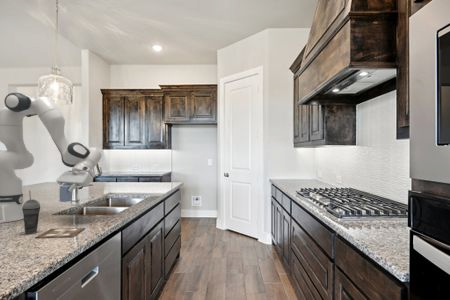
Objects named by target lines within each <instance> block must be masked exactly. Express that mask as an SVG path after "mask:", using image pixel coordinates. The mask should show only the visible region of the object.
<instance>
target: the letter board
mask: <svg viewBox="0 0 450 300" xmlns="http://www.w3.org/2000/svg"><path fill="white" fill-rule="evenodd" d="M84 230H86V227H68V228H64V227H63V228H60V227H59V228H50V229H47V230H45V231H44V232H42V233H40V234H38V235H36V236H35V237H34V238H35V239H57V238H58V239H60V238H61V239H62V238H75V237H76V236H78V235H79V234H80V233H82V232H83V231H84Z"/></svg>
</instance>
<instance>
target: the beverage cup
mask: <svg viewBox="0 0 450 300" xmlns="http://www.w3.org/2000/svg"><path fill="white" fill-rule="evenodd" d="M28 194H29V199H28V200H26V201H25V202H23V204H22V206H23V208H22V210H23V215H24V219H23V227H24V232H25V233H24V234H27V235H28V234H29V235H30V234H31V235H32V234H35V233H37V232H38V225H39V217H40V212H41V208H42V207H41V204H40V201H38V200H37V199H32V195H31V190H28Z"/></svg>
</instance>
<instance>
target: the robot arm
mask: <svg viewBox="0 0 450 300" xmlns="http://www.w3.org/2000/svg"><path fill="white" fill-rule="evenodd" d="M33 116H37V117H38V118H39V121H41V123H42V124H43V126H44V127H45V129H46V130H47V132H48V134H49V135H50V137H51V139H52V141H53V143H54V145H55V146H56V148H57V150H58V151H59V153H60V157H61V162H62V164H63V165H64V166H66V167H68V168H72V169H71V170H68V171H64V172H63V173H62V174H60V176H59V177H58V178H56V183H57V184H58V185H60V186H66V185H68V186H71V187H70V188H68V189H67V191H68V192H71V191H72V192H73V191H74V190H75V189H76V188H78V187H79V188H81V187H83V188H85V187H88V186H89V185H90V183H91V182H92V181H93V179H94V178H95V177H96V174H95V173H94V171H93V169H94V168H95V167H97V165H98V164H99V162H100V160H101V159H102V152H101V151H100V150H99V149H98V148H97V147H95V146H93V147H92V146H87V145H83V144H82V143H81V142H77V141H76V142H71V143H69V142H68V140H67V138H66V135H65V124H66V123H65V122H66V120H65V118H64V115H63V113H62V112H61V110H60V108H59V107H58V106H57V105H56V103H54V101H53V100H52V99H51V98H49V97H47V96H45V95H44V96H38V97H34V96H32V95H29V94H24V93H20V92H11V93H8V94H7V95H6V96H5V98H4V107H2V108H1V109H0V142H1V143H2V144H3V145H4V146H5V149H6V150H2V149H1V150H0V224H3V223H9V222H11V223H12V222H17V221H20V220H24V215H23V210H22V208H23V204H24V194H23V180H22V179H21V178H20V177H19V176H18V175H17V174H16V172H15V171H16V170H24V169H28V168H30V167H32V166H33V164H34V161H35V158H34V156H33V154H32V153H31V152H30V151H29V150H28V149H27V147H26V144H25V141H24V131H23V130H24V127H23V125H24V124H23V122H24V118H25V117H26V118H31V117H33ZM58 190H59V191H60V188H59V189H58Z"/></svg>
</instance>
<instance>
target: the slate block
mask: <svg viewBox="0 0 450 300" xmlns="http://www.w3.org/2000/svg"><path fill="white" fill-rule="evenodd" d="M70 187H71V186H68V185H66V186H61V185H60V186H59V189H60V190H59V202H61V203H62V202H63V203H66V202H72V201H73V190H72V191H71V192H68V191H67V189H68V188H70Z"/></svg>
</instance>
